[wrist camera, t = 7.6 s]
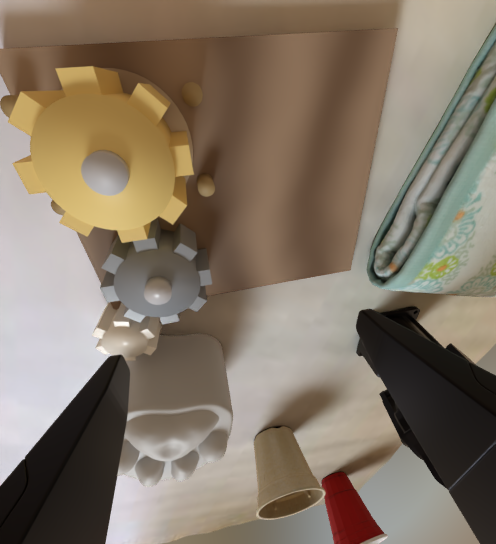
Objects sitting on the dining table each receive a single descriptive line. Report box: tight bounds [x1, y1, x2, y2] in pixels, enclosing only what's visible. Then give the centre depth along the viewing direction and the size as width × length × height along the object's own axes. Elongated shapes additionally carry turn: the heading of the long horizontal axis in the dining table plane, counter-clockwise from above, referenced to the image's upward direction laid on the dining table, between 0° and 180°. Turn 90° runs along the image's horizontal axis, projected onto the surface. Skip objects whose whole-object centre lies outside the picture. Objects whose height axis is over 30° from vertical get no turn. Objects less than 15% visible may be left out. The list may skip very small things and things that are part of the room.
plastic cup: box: [322, 472, 388, 544], centre depth 55 cm, size 11×11×12 cm
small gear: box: [92, 302, 162, 361], centre depth 21 cm, size 4×4×3 cm
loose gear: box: [8, 66, 194, 243], centre depth 13 cm, size 7×7×6 cm
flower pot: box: [254, 426, 325, 520], centre depth 38 cm, size 9×9×9 cm
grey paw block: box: [117, 334, 233, 487], centre depth 25 cm, size 10×13×9 cm
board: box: [0, 28, 398, 310], centre depth 18 cm, size 20×16×3 cm
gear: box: [100, 218, 212, 324], centre depth 18 cm, size 7×7×4 cm
